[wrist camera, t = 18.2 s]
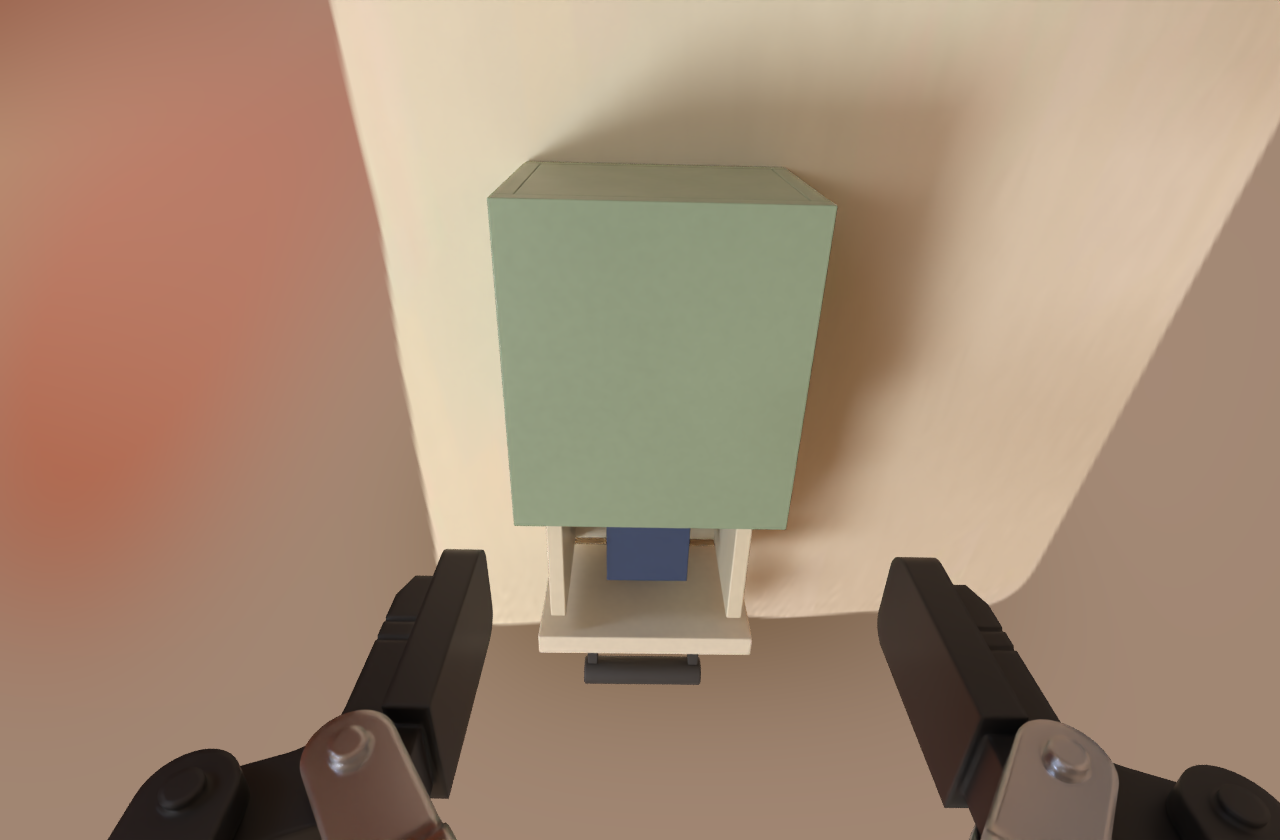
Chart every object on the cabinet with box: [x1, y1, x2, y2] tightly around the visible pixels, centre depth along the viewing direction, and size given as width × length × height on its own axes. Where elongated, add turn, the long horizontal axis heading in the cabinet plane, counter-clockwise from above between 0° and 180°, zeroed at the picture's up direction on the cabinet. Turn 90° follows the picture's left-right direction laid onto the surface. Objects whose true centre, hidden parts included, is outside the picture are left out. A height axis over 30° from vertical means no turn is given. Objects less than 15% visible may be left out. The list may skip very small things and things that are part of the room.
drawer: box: [538, 526, 752, 685], centre depth 37 cm, size 19×11×8 cm, turn 179°
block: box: [606, 527, 691, 581], centre depth 37 cm, size 4×4×4 cm
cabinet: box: [487, 161, 837, 530], centre depth 32 cm, size 15×13×10 cm
